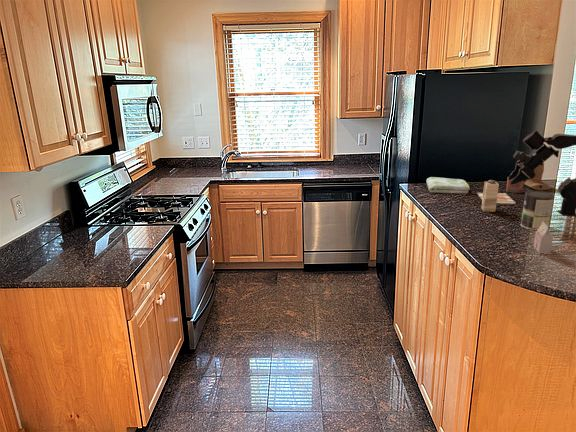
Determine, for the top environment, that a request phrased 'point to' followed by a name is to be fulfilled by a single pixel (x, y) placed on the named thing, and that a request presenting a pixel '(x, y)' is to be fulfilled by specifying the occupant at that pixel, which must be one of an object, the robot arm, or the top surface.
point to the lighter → (514, 186)
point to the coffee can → (536, 209)
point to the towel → (447, 185)
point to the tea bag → (543, 239)
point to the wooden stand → (537, 180)
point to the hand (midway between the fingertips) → (509, 181)
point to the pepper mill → (490, 196)
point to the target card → (501, 198)
